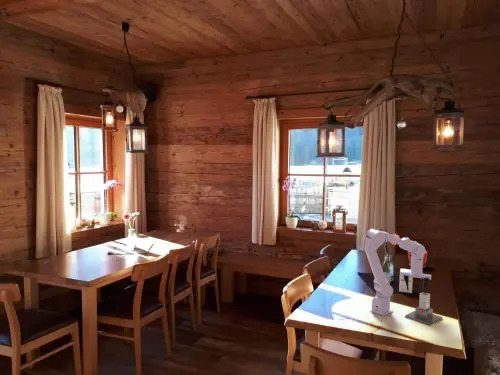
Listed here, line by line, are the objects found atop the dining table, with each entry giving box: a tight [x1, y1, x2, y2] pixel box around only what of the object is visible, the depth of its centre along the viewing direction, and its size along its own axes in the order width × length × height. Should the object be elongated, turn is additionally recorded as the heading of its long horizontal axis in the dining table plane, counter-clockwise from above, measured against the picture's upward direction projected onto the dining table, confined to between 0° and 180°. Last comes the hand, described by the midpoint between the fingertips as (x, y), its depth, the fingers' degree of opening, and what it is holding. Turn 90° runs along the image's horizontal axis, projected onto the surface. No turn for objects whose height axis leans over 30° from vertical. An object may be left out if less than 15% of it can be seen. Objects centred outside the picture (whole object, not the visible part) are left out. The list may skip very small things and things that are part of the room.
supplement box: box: [398, 268, 414, 294], centre depth 251 cm, size 7×7×13 cm
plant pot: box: [407, 250, 428, 269], centre depth 303 cm, size 13×13×12 cm
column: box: [418, 291, 431, 311], centre depth 209 cm, size 4×4×9 cm
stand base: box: [404, 306, 443, 327], centre depth 210 cm, size 13×13×5 cm
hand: (415, 290), depth 220 cm, fingers open, 7 cm apart
